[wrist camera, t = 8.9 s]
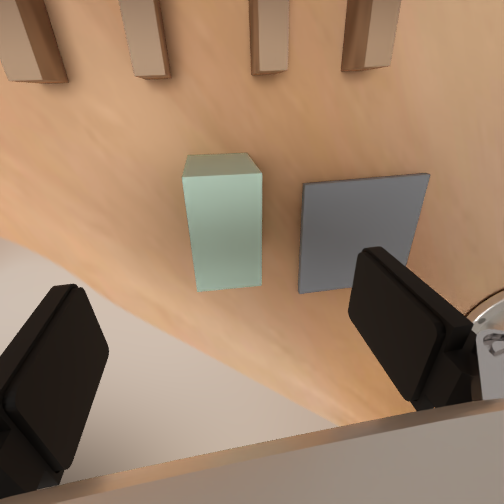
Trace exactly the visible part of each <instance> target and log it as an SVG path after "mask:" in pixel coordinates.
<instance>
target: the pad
mask: <svg viewBox="0 0 504 504" xmlns="http://www.w3.org/2000/svg"><path fill="white" fill-rule="evenodd" d="M429 178H430V174H427V173H420V174H408V175H397V176H385V177H373V178H361V179H349V180H338V181H326V182H314V183H303V193H302V213H301V234H300V255H299V276H298V292H299V294H304V293H311V292H319V291H327V290H335V289H342V288H350V287H352V285H353V279H354V273H355V267H356V261H357V256H358V254H359V253H360V252H362V250H363V249H364V248H369V247H377V246H381V247H383V248H384V249H385V250H386V251H388V252H389V253H390V254H391V255H392V256H394V257H395V258H396V259H397V260H398V261H400V262H401V263H402V264H403V265H404V266H405V267H406V264H407V260H408V256H409V252H410V249H411V245H412V241H413V238H414V234H415V230H416V226H417V223H418V219H419V215H420V212H421V208H422V204H423V200H424V197H425V193H426V189H427V185H428V182H429Z"/></svg>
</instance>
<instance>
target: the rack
mask: <svg viewBox="0 0 504 504" xmlns="http://www.w3.org/2000/svg"><path fill="white" fill-rule="evenodd" d="M119 5H120V10H121V15H122V19H123V24H124V29H125V34H126V38H127V43H128V48H129V53H130V57H131V62H132V67H133V72H134V76H136V77H139V78H143V79H163V78H171V72H170V66H169V60H168V53H167V47H166V40H165V34H164V27H163V21H162V15H161V8H160V2H159V0H119ZM400 5H401V0H348V4H347V14H346V24H345V35H344V45H343V56H342V66H341V71H361V70H369V69H375V68H381V67H388V66H390V65H391V59H392V53H393V47H394V41H395V35H396V29H397V23H398V17H399V11H400ZM249 23H250V51H251V75H262V74H277V73H280V72H283V71H287V70H288V38H289V0H249ZM0 61H1V63H2V66H3V68H4V71H5V73H6V76H7V78H8V81H16V82H28V83H65V82H68V78H67V75H66V72H65V69H64V65H63V62H62V59H61V56H60V53H59V49H58V46H57V43H56V40H55V36H54V33H53V30H52V27H51V23H50V20H49V17H48V14H47V11H46V7H45V4H44V1H43V0H0Z"/></svg>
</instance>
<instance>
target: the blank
mask: <svg viewBox="0 0 504 504" xmlns="http://www.w3.org/2000/svg"><path fill="white" fill-rule="evenodd" d="M182 182H183V190H184V197H185V205H186V212H187V219H188V227H189V234H190V241H191V249H192V256H193V264H194V271H195V278H196V286H197V292H202V291H212V290H222V289H232V288H242V287H252V286H262V172H261V171H260V170H259V168H258V167H257V166H256V164H255V163H254V162H253V160H252V159H251V158H250V156H249V155H248V154H247V153H231V154H206V155H188V157H187V160H186V164H185V168H184V171H183V175H182Z"/></svg>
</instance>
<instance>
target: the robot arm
mask: <svg viewBox="0 0 504 504" xmlns="http://www.w3.org/2000/svg"><path fill="white" fill-rule="evenodd" d="M348 314H349V317H350V319H351V321H352V322H353V324H354V325H355V327H356V328H357V330H358V331H359V333H360V334H361V336H362V337H363V339H364V340H365V342H366V343H367V345H368V346H369V348H370V349H371V351H372V352H373V354H374V355H375V357H376V358H377V359H378V361H379V362H380V364H381V365H382V367H383V368H384V370H385V371H386V373H387V374H388V376H389V377H390V379H391V380H392V382H393V383H394V385H395V386H396V388H397V389H398V391H399V392H400V394H401V395H402V397H403V398H404V399H405V400H406V401H410V402H411V403H412V405H413V406H414V408H415V409H416V412H411V413H406V414H401V415H396V416H391V417H386V418H381V419H376V420H371V421H366V422H361V423H356V424H351V425H346V426H341V427H336V428H331V429H326V430H321V431H316V432H311V433H306V434H301V435H296V436H291V437H286V438H281V439H276V440H272V441H267V442H262V443H257V444H252V445H247V446H242V447H237V448H232V449H228V450H223V451H218V452H213V453H208V454H203V455H198V456H194V457H189V458H184V459H179V460H175V461H170V462H165V463H161V464H156V465H151V466H146V467H141V468H136V469H132V470H127V471H122V472H117V473H113V474H108V475H103V476H98V477H94V478H89V479H85V480H80V481H76V482H71V483H67V484H63V485H59V484H60V481H61V478H62V475H63V472H64V470H66V469H68V468H69V467H70V466H71V464H72V461H73V459H74V456H75V453H76V450H77V447H78V444H79V441H80V438H81V436H82V432H83V430H84V427H85V423H86V421H87V418H88V415H89V412H90V409H91V406H92V403H93V400H94V397H95V394H96V391H97V388H98V385H99V383H100V380H101V377H102V374H103V371H104V368H105V365H106V362H107V359H108V355H109V348H108V344H107V342H106V340H105V337H104V335H103V333H102V330H101V328H100V325H99V323H98V321H97V318H96V316H95V314H94V311H93V309H92V307H91V304H90V302H89V299H88V297H87V295H86V293H85V290H84V289H83V288H81V287H80V288H78V286H77V285H76V284H67V285H59V286H53V287H52V288H51V289H50V291H49V292H48V293H47V295H46V296H45V297H44V299H43V300H42V301H41V303H40V304H39V305H38V307H37V308H36V309H35V311H34V312H33V313H32V315H31V316H30V317H29V319H28V320H27V321H26V323H25V324H24V325H23V327H22V328H21V329H20V331H19V332H18V333H17V335H16V336H15V337H14V339H13V340H12V342H11V343H10V344H9V345H8V347H7V348H6V349H5V351H4V352H3V353H2V355H1V356H0V504H504V291H501V292H499V293H498V294H496V295H494V296H492V297H490V298H489V299H487V300H486V301H484V302H483V303H481V304H480V305H479V306H478V307H476V308H475V309H474V310H473V311H472V312H471V313H470V314H469V315H468V316H467V317H465V316H464V315H463V314H462V313H460V312H459V311H458V310H457V309H456V308H454V307H453V306H452V305H451V304H450V303H448V302H447V301H446V300H445V299H444V298H443V297H441V296H440V295H439V294H438V293H437V292H435V291H434V290H433V289H432V288H431V287H429V286H428V285H427V284H426V283H425V282H423V281H422V280H421V279H420V278H419V277H417V276H416V275H415V274H414V273H413V272H411V271H410V270H409V269H408V268H407V267H405V266H404V265H403V264H402V263H401V262H400V261H398V260H397V259H396V258H395V257H394V256H392V255H391V254H390V253H389V252H388V251H386V250H385V249H384V248H383V247H381V246H377V247H369V248H364V249H363V250H362V252H360V253H359V254H358V256H357V261H356V267H355V273H354V279H353V285H352V290H351V296H350V302H349V308H348ZM434 407H435V408H434ZM57 485H58V486H57ZM52 486H54V487H52ZM47 487H49V488H47ZM42 488H45V489H42ZM37 489H41V490H37Z"/></svg>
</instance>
